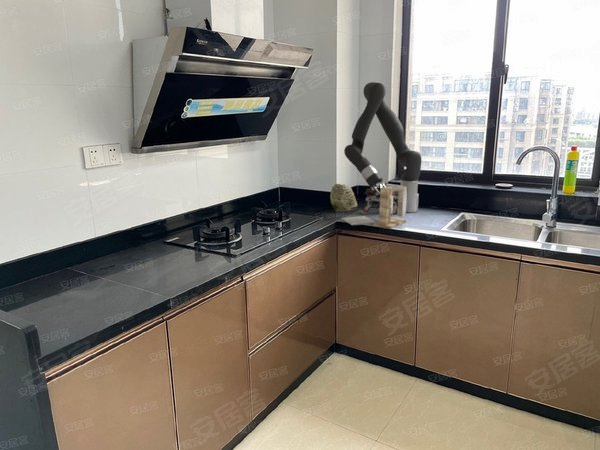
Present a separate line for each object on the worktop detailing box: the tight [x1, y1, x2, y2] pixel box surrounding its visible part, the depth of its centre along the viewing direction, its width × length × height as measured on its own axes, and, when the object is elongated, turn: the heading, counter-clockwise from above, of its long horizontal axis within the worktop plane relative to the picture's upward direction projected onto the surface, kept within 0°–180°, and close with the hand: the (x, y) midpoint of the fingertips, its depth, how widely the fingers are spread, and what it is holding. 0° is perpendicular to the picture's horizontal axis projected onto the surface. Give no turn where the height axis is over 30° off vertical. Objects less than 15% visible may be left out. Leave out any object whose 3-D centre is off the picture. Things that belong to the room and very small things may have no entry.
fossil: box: [329, 183, 358, 213], centre depth 250 cm, size 9×18×15 cm, turn 137°
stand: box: [372, 187, 407, 230], centre depth 217 cm, size 17×9×19 cm, turn 141°
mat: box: [341, 215, 376, 226], centre depth 225 cm, size 13×13×1 cm
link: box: [386, 183, 407, 218], centre depth 220 cm, size 10×4×15 cm, turn 51°
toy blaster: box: [359, 188, 398, 215], centre depth 240 cm, size 4×21×15 cm, turn 89°
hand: (390, 201), depth 222 cm, fingers open, 7 cm apart
